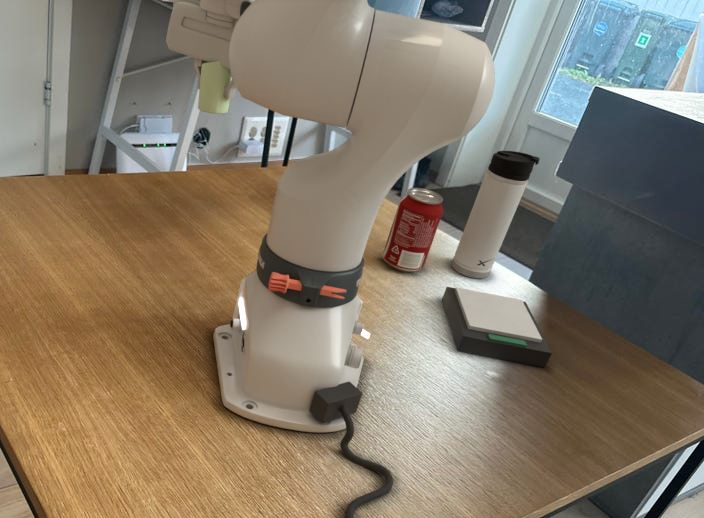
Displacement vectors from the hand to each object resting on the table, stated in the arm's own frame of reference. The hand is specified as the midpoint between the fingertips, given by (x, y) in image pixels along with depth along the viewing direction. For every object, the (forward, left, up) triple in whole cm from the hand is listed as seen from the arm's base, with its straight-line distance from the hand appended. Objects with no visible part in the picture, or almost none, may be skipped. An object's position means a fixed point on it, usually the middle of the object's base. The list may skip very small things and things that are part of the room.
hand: (215, 94), depth 114 cm
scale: (-29, -46, -18) cm, 57 cm away
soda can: (-12, -35, -18) cm, 41 cm away
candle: (0, 0, -3) cm, 3 cm away
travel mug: (-9, -47, -18) cm, 51 cm away
